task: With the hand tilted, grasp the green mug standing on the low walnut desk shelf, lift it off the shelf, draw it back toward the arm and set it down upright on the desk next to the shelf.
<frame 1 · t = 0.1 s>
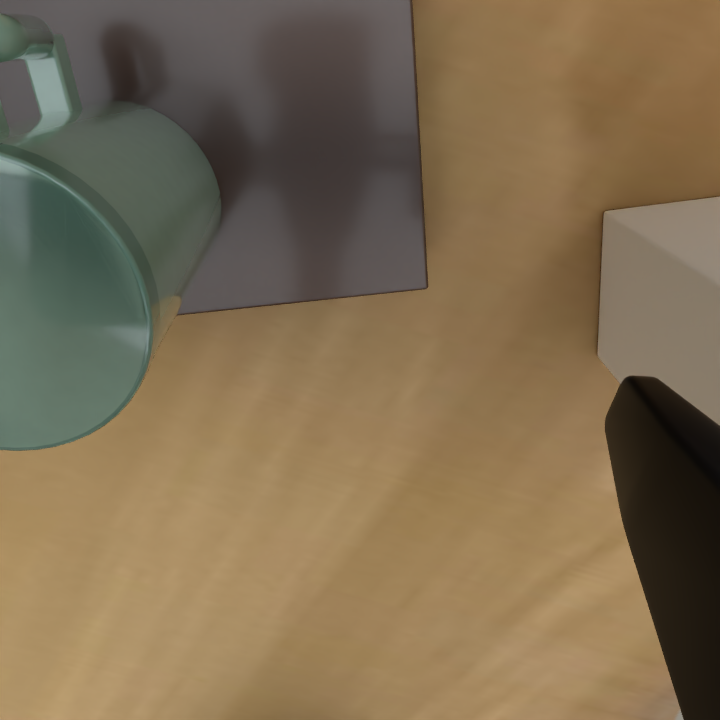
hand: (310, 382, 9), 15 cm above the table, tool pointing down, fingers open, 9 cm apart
green mug: (124, 202, 20), point 3 cm above the table, touching shelf
shelf: (139, 129, 22), on the table
milk: (674, 275, 26), on the table
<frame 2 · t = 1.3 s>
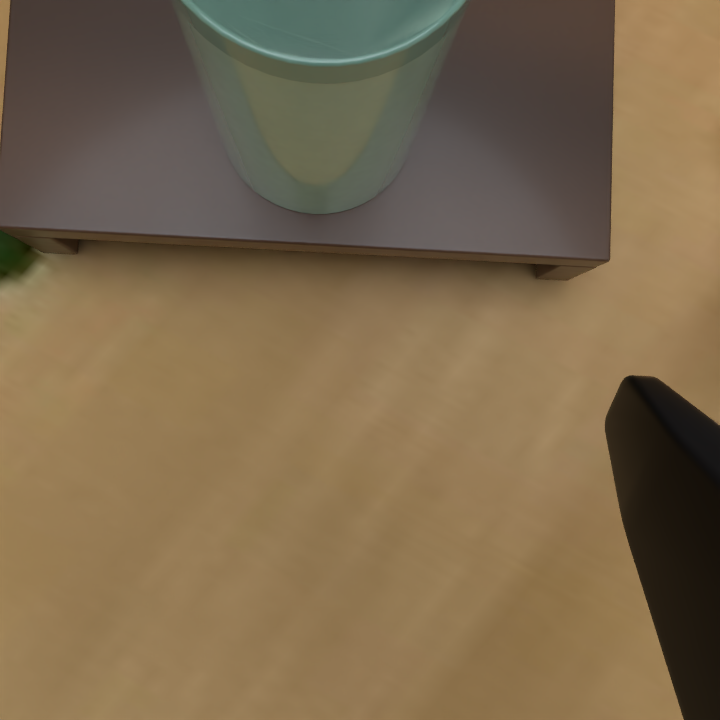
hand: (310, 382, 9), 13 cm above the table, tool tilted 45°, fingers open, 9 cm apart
green mug: (317, 117, 20), point 3 cm above the table, touching shelf
shelf: (318, 110, 23), on the table
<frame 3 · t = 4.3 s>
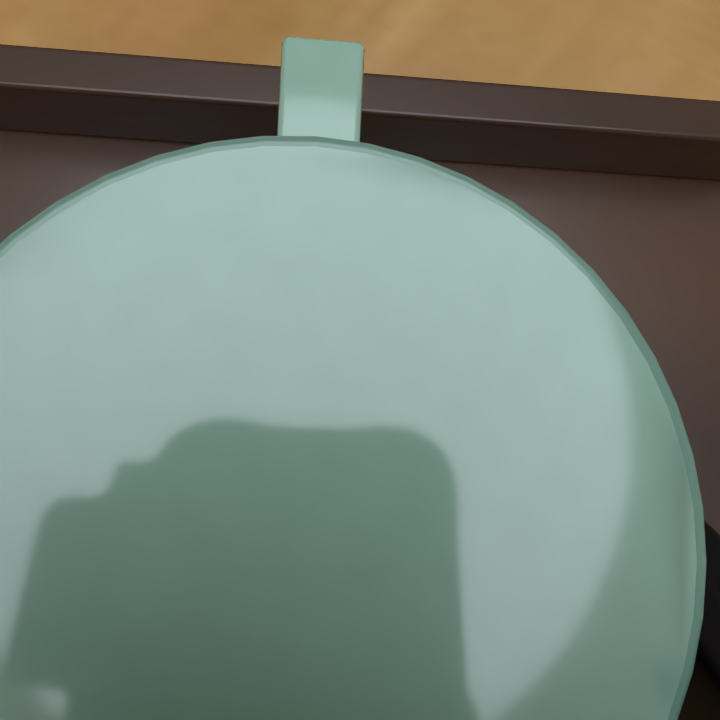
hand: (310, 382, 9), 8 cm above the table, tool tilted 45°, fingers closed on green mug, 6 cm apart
green mug: (306, 460, 14), point 3 cm above the table, touching gripper, shelf
shelf: (311, 384, 17), on the table
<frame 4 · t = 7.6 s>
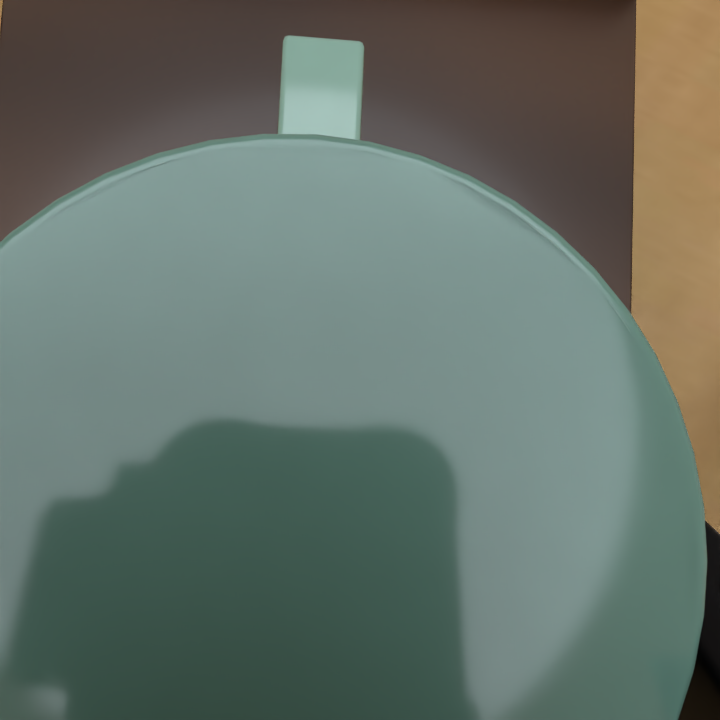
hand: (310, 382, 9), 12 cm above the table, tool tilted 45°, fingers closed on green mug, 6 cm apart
green mug: (306, 459, 13), point 8 cm above the table, touching gripper
shelf: (322, 174, 22), on the table
when the fingers open (4 cm above the table, at t = 11.0 s): green mug stays where it is, on the table.
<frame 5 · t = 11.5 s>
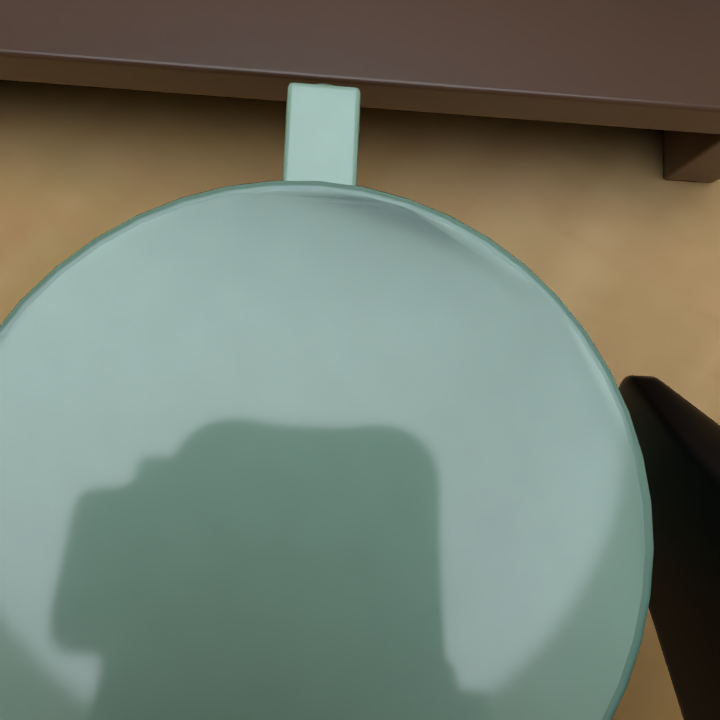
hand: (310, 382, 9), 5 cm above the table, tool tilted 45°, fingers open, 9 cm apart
green mug: (307, 460, 14), on the table
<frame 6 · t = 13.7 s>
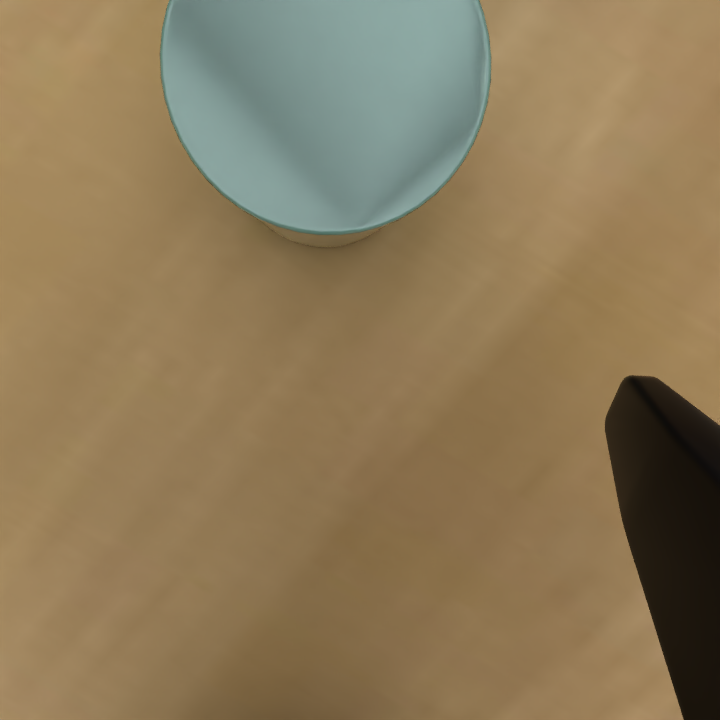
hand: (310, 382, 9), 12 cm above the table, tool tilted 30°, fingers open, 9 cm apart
green mug: (324, 152, 21), on the table
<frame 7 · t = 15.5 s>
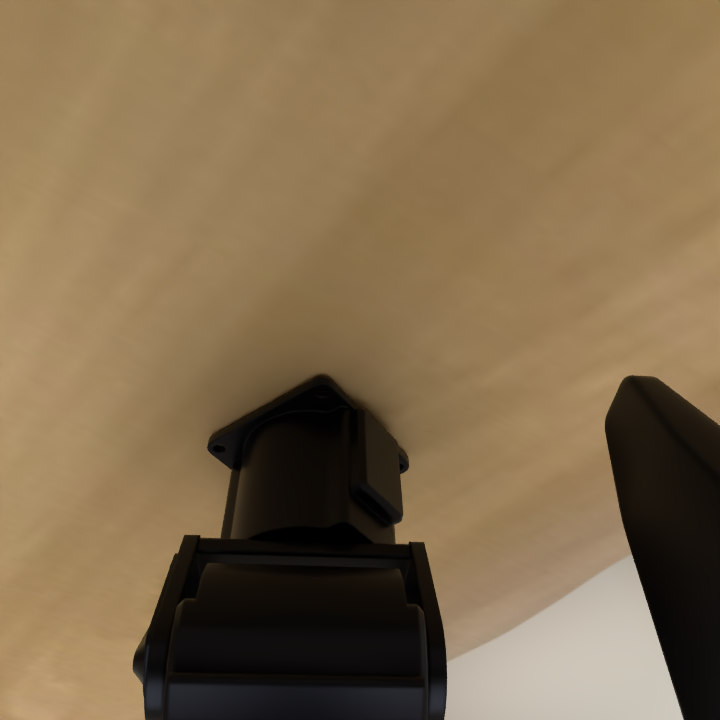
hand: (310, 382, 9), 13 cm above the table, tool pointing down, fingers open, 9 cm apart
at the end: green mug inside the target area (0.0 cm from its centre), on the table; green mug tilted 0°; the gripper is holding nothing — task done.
